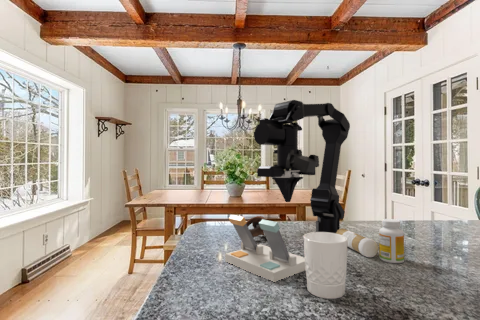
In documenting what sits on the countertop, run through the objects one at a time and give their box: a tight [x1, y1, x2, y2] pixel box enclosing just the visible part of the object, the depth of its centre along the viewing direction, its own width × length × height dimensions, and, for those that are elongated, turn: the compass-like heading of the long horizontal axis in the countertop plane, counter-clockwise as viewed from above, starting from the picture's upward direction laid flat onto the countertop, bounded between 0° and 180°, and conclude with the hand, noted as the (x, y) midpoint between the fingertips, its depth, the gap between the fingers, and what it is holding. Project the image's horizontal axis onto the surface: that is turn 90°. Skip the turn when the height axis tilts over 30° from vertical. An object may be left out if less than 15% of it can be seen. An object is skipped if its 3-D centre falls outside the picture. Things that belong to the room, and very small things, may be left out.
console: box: [224, 241, 306, 283], centre depth 66 cm, size 12×16×4 cm
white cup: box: [303, 231, 348, 300], centre depth 52 cm, size 8×8×10 cm
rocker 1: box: [228, 214, 258, 252], centre depth 68 cm, size 1×4×10 cm
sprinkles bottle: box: [336, 227, 379, 258], centre depth 77 cm, size 5×5×13 cm
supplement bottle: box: [378, 218, 405, 264], centre depth 69 cm, size 5×5×10 cm
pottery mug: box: [246, 215, 266, 238], centre depth 89 cm, size 12×10×8 cm
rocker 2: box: [259, 218, 290, 263], centre depth 61 cm, size 1×4×10 cm, turn 41°
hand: (287, 201), depth 78 cm, fingers closed
